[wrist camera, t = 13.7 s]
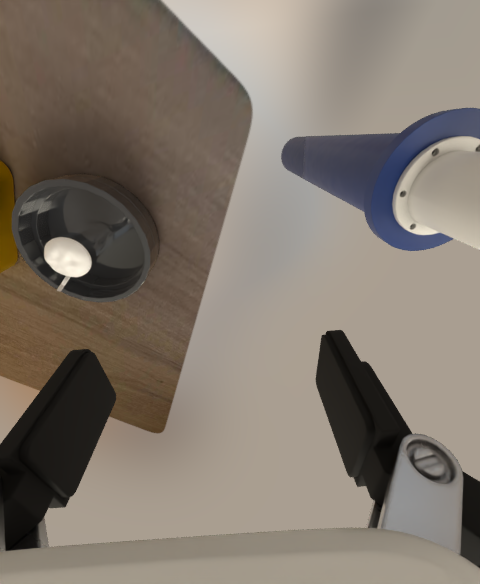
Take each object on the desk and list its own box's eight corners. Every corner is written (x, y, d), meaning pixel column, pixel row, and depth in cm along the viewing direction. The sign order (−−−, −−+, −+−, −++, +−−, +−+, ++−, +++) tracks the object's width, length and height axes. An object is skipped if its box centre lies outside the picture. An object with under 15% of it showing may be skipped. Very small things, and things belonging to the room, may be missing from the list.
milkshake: (83, 249, 34) (34, 285, 26) (83, 211, 32) (29, 238, 23) (117, 258, 35) (81, 296, 27) (120, 222, 33) (81, 252, 24)
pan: (142, 168, 30) (128, 173, 26) (170, 280, 38) (162, 297, 34) (16, 178, 30) (-20, 185, 26) (70, 287, 38) (50, 306, 34)
